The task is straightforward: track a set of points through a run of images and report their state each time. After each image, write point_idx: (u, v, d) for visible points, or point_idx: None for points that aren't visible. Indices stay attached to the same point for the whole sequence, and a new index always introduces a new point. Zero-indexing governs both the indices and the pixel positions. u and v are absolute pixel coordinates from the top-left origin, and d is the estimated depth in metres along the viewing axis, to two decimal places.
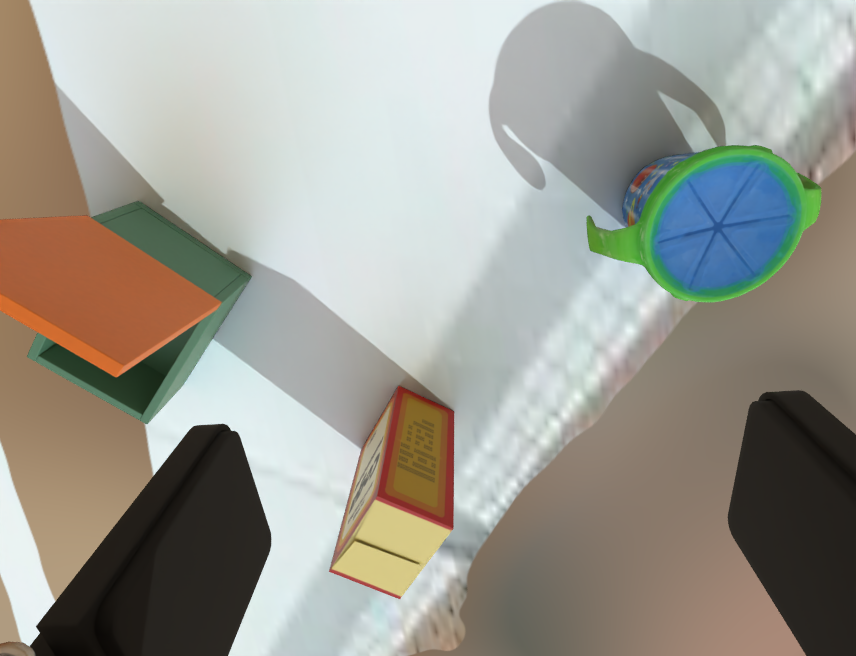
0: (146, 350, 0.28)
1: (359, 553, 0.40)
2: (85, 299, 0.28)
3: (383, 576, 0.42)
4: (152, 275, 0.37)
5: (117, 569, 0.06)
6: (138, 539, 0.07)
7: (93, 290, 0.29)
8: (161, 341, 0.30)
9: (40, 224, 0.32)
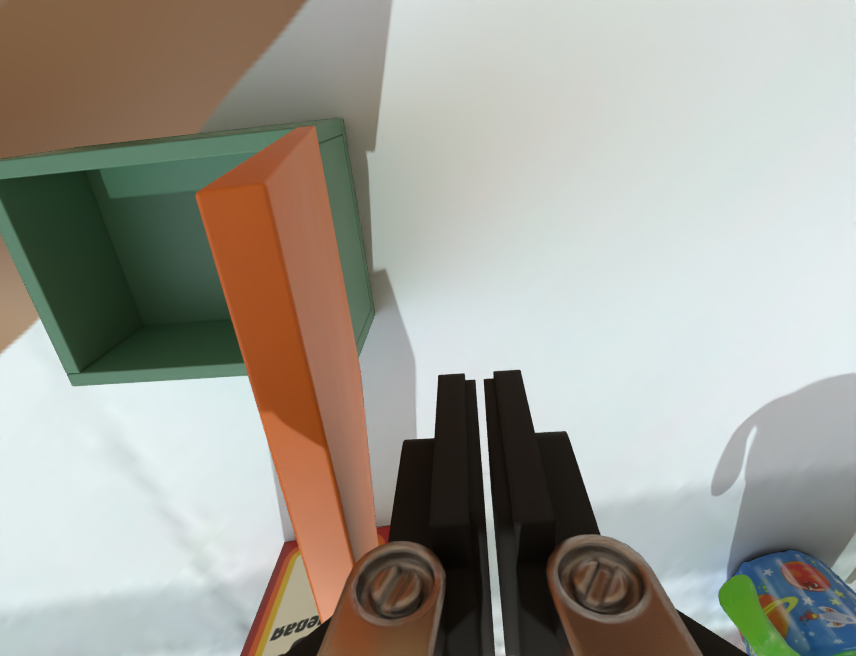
0: None
1: None
2: (356, 459, 0.12)
3: None
4: (347, 316, 0.20)
5: (467, 483, 0.07)
6: (464, 461, 0.07)
7: (351, 411, 0.13)
8: None
9: (312, 159, 0.15)
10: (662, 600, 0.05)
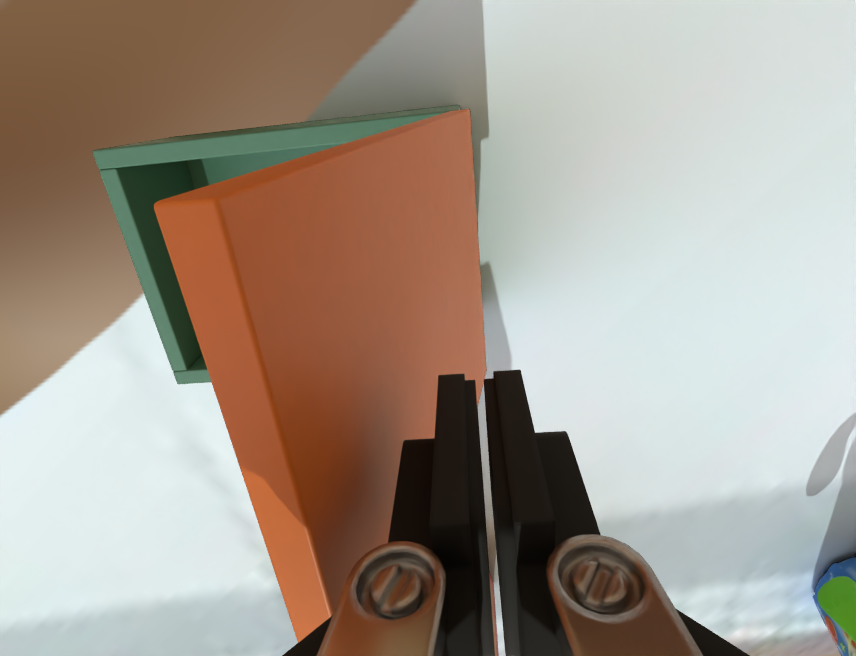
0: None
1: None
2: None
3: None
4: (469, 313, 0.19)
5: (467, 483, 0.07)
6: (463, 461, 0.07)
7: (422, 422, 0.13)
8: None
9: (435, 149, 0.14)
10: (662, 600, 0.05)
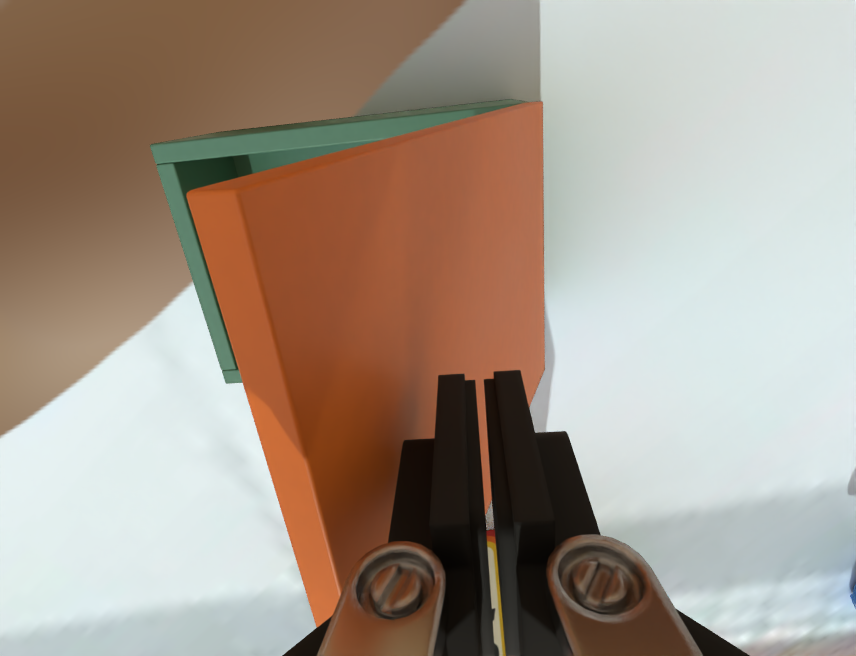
0: None
1: None
2: None
3: None
4: (526, 310, 0.19)
5: (467, 483, 0.07)
6: (464, 461, 0.07)
7: None
8: None
9: (494, 143, 0.14)
10: (662, 600, 0.05)
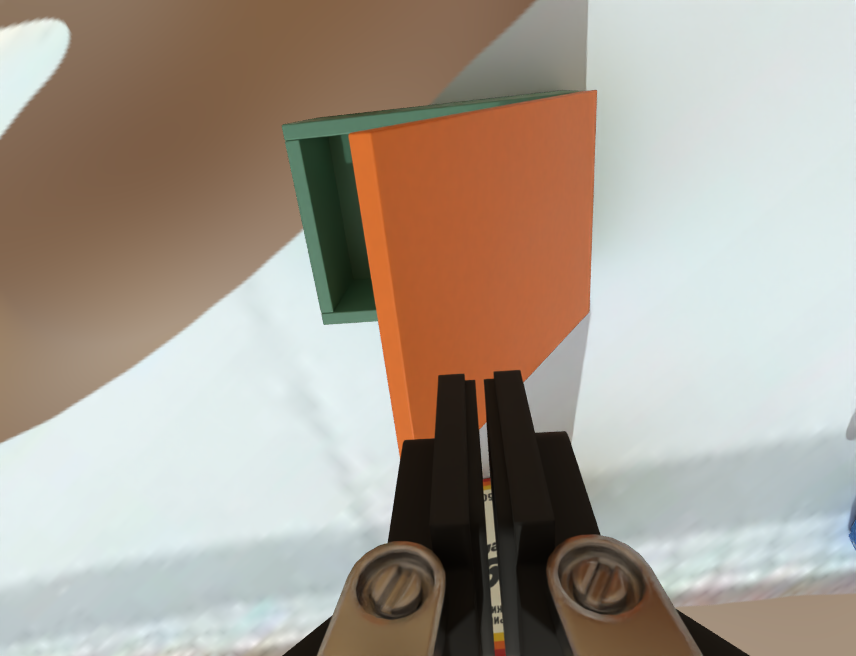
0: None
1: None
2: (474, 328, 0.18)
3: None
4: (567, 253, 0.25)
5: (467, 483, 0.07)
6: (463, 461, 0.07)
7: (494, 302, 0.19)
8: None
9: (539, 120, 0.20)
10: (662, 600, 0.05)
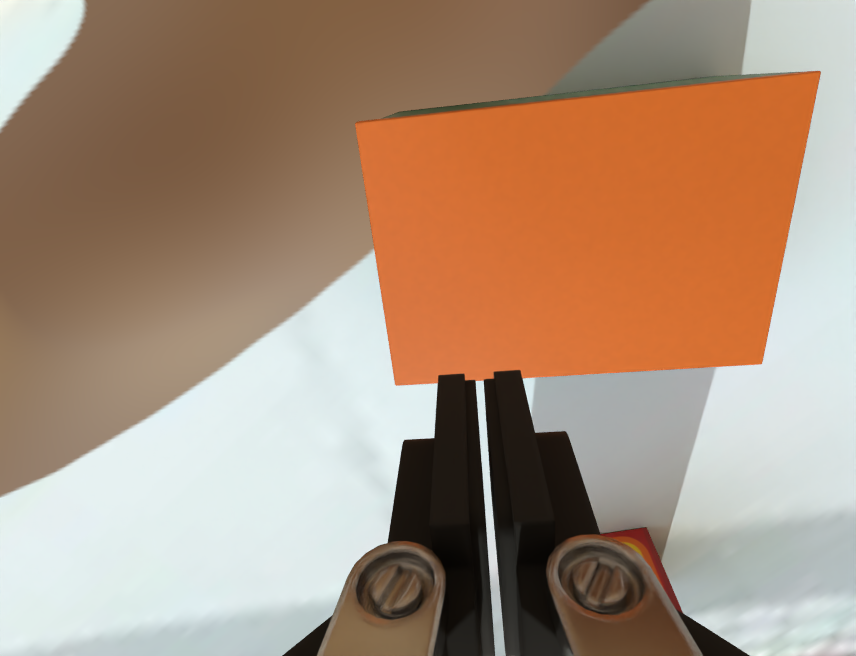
0: None
1: None
2: (474, 292, 0.21)
3: None
4: (692, 273, 0.21)
5: (467, 483, 0.07)
6: (463, 461, 0.07)
7: (510, 280, 0.21)
8: None
9: (623, 114, 0.18)
10: (662, 600, 0.05)
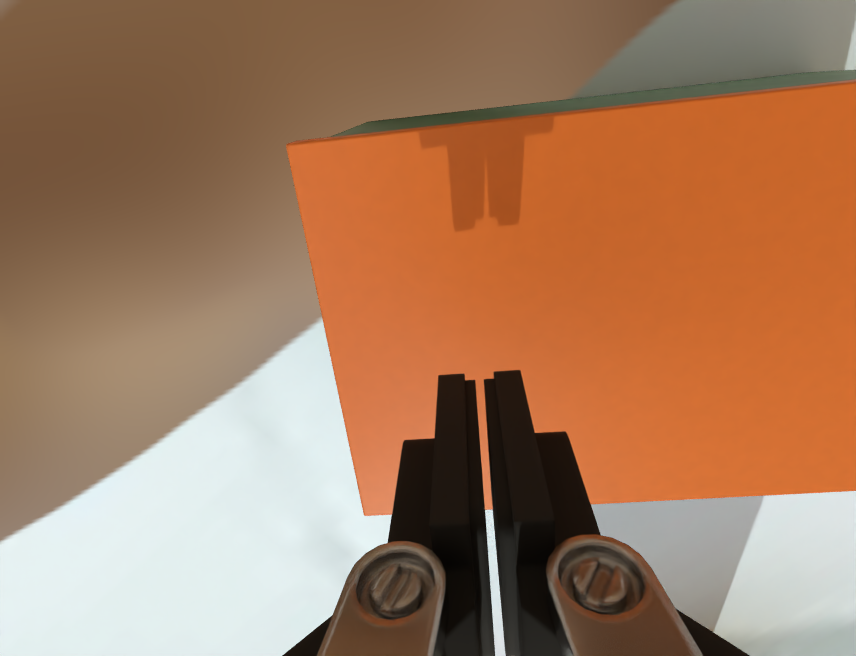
0: None
1: None
2: (478, 393, 0.14)
3: None
4: (808, 367, 0.14)
5: (467, 483, 0.07)
6: (463, 461, 0.07)
7: (532, 377, 0.14)
8: None
9: (722, 130, 0.11)
10: (662, 600, 0.05)
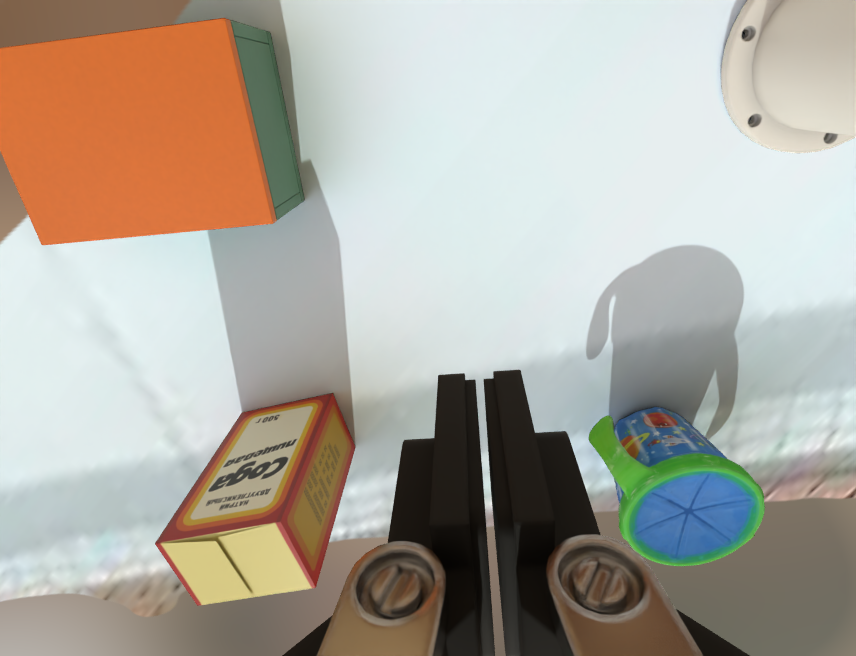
0: (76, 241, 0.34)
1: (206, 551, 0.34)
2: (70, 172, 0.32)
3: (204, 580, 0.36)
4: (202, 156, 0.31)
5: (467, 483, 0.07)
6: (463, 461, 0.07)
7: (90, 163, 0.32)
8: None
9: (118, 46, 0.29)
10: (662, 600, 0.05)
